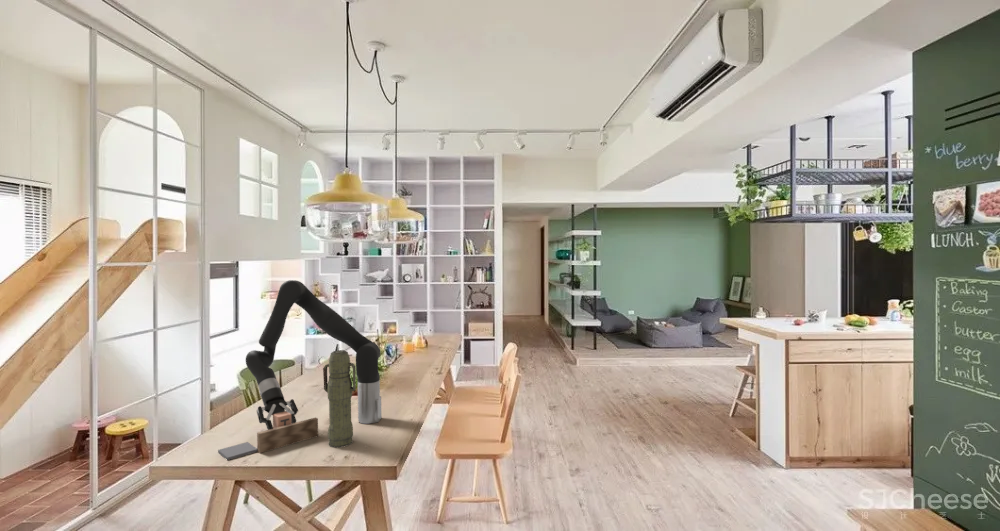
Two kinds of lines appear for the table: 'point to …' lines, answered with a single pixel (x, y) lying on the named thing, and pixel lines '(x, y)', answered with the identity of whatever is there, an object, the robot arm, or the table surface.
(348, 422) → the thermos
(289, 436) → the walnut screen
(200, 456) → the table surface
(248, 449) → the charcoal mat
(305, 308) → the robot arm
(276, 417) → the marked block
